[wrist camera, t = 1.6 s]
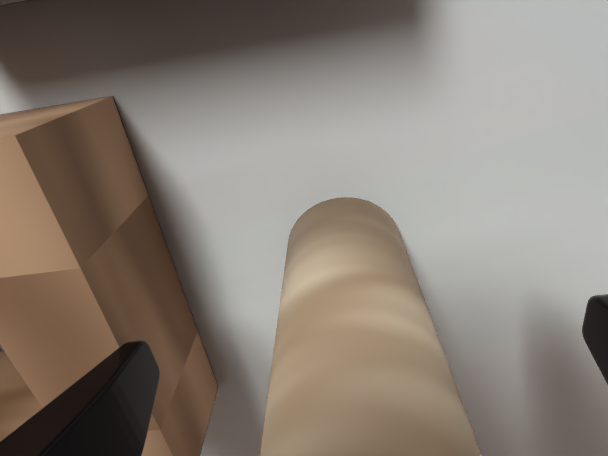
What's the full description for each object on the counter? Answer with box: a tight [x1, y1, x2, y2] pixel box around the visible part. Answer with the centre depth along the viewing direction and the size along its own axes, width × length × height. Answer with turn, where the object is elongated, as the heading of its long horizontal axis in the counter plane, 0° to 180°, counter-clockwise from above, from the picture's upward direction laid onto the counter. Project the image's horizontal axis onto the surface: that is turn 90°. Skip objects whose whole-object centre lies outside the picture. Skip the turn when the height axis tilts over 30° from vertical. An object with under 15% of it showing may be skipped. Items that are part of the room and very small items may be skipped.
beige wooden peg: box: [260, 198, 482, 456], centre depth 8 cm, size 3×3×7 cm
